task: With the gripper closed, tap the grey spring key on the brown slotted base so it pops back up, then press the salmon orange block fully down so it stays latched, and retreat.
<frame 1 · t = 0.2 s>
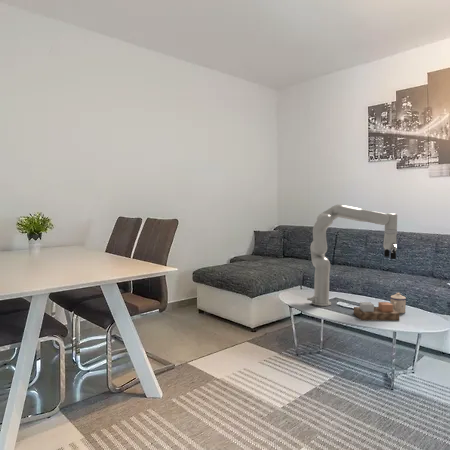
hand: (389, 257, 255), 31 cm above the table, fingers open, 9 cm apart
salmon orange block: (385, 316, 228), resting on brown slotted base, slide at 0.0 cm
brown slotted base: (375, 316, 228), on the table
teacup with lid: (397, 312, 238), on the table
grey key: (366, 316, 228), resting on brown slotted base, slide at 0.0 cm
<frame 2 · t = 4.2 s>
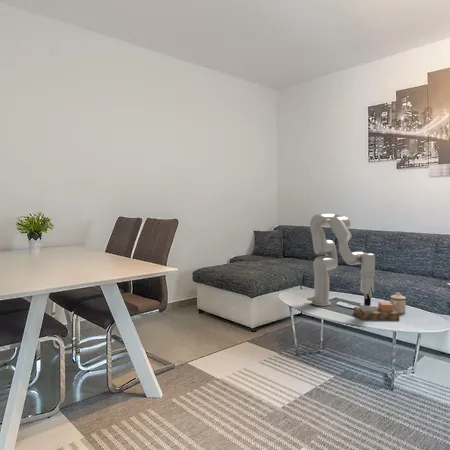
hand: (367, 305, 228), 7 cm above the table, fingers closed
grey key: (366, 318, 228), resting on brown slotted base, slide at 1.0 cm, touching gripper
everything else where it was.
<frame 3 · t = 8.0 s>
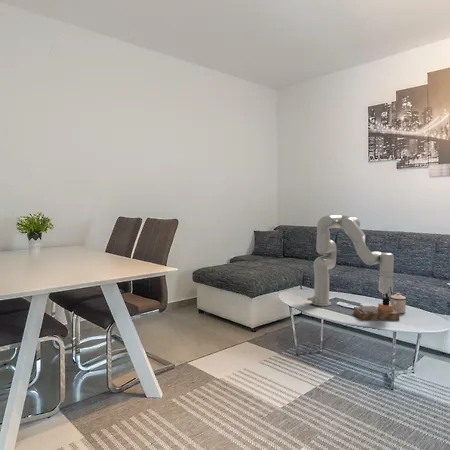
hand: (385, 304, 228), 7 cm above the table, fingers closed
salmon orange block: (385, 317, 228), resting on brown slotted base, slide at 0.7 cm, touching gripper
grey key: (366, 318, 228), resting on brown slotted base, slide at 0.8 cm
everything else where it was.
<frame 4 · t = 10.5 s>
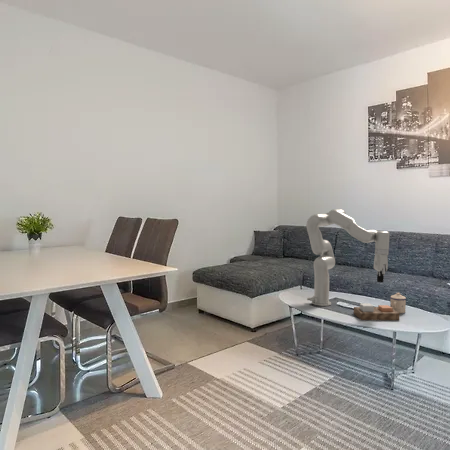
hand: (380, 282, 231), 20 cm above the table, fingers closed
salmon orange block: (385, 319, 228), resting on brown slotted base, slide at 1.9 cm
everything else where it was.
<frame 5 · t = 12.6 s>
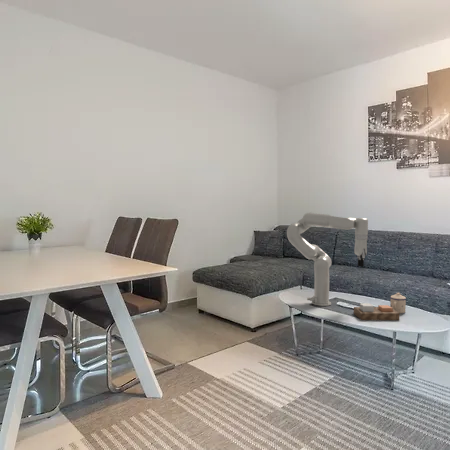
hand: (360, 266, 246), 27 cm above the table, fingers closed
nothing on the table moved.
at the end: salmon orange block slide at 1.9 cm; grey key slide at 0.8 cm; salmon orange block touching nothing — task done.
